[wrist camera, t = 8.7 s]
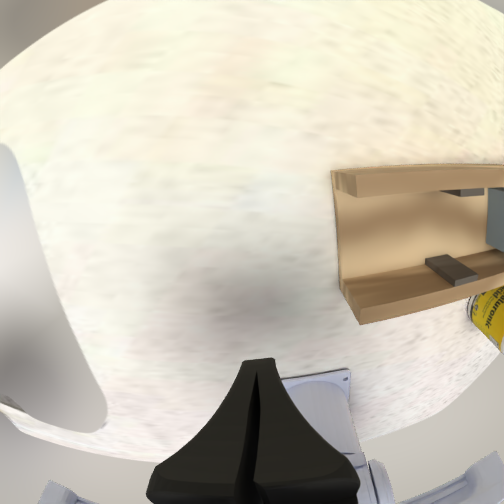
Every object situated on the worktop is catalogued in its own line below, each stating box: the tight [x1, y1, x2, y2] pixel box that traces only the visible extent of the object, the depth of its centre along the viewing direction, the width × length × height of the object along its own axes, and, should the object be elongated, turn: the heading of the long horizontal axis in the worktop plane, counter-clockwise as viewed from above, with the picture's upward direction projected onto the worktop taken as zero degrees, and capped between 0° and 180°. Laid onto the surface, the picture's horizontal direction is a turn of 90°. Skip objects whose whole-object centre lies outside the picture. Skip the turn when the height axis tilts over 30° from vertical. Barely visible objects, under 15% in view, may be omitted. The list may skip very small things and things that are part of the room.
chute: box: [331, 164, 504, 325], centre depth 17 cm, size 9×19×5 cm, turn 99°
